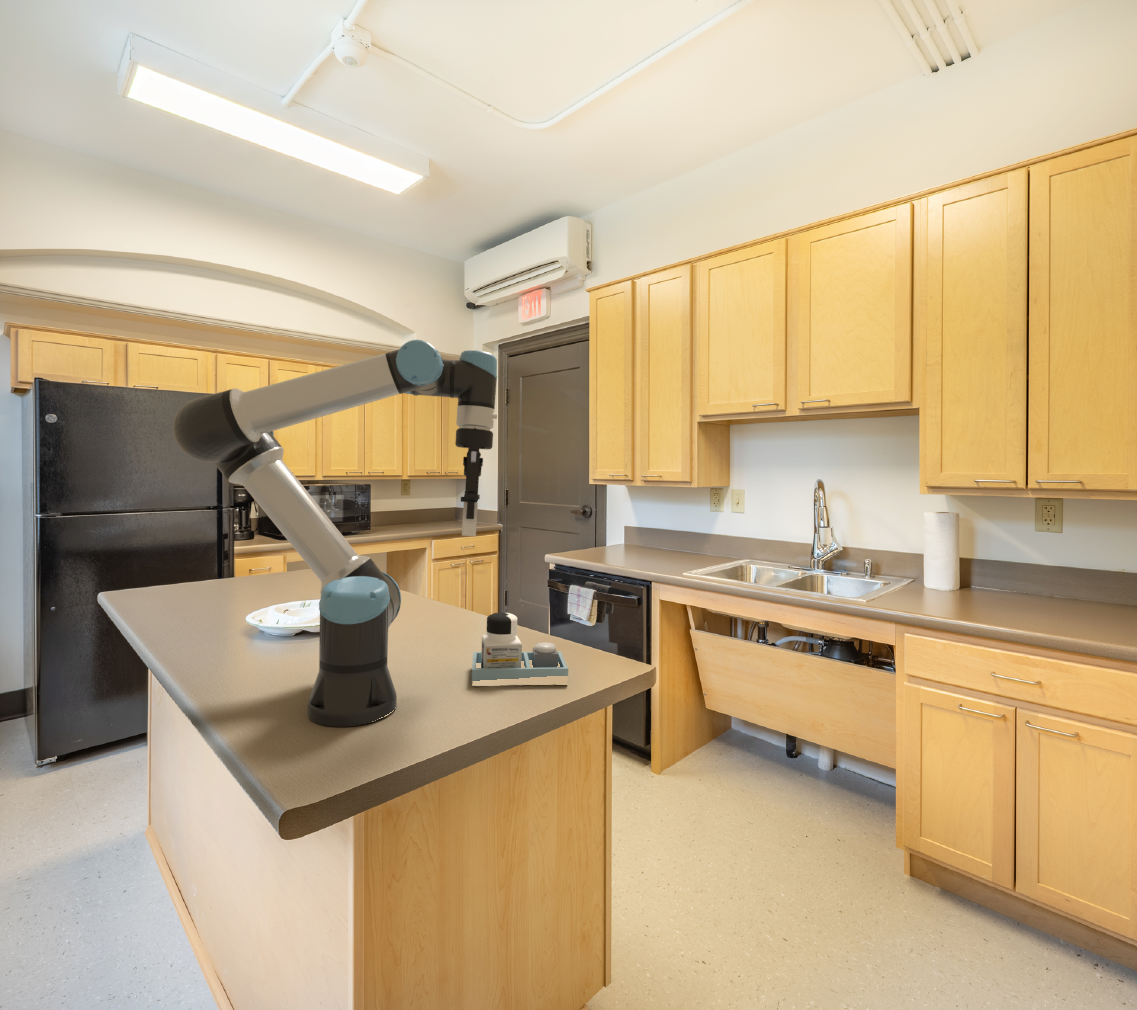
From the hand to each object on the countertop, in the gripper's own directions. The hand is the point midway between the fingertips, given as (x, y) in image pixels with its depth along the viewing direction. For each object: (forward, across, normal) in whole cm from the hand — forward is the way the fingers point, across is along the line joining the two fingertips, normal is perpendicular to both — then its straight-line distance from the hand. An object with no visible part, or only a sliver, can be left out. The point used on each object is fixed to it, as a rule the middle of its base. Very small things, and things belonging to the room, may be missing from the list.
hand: (468, 532), depth 123 cm
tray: (+31, +3, -12) cm, 34 cm away
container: (+31, +3, -9) cm, 32 cm away
